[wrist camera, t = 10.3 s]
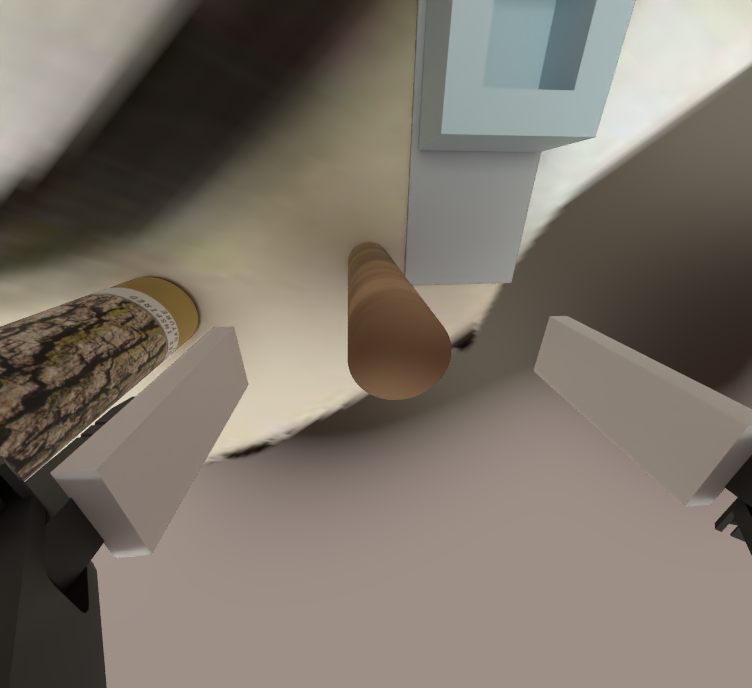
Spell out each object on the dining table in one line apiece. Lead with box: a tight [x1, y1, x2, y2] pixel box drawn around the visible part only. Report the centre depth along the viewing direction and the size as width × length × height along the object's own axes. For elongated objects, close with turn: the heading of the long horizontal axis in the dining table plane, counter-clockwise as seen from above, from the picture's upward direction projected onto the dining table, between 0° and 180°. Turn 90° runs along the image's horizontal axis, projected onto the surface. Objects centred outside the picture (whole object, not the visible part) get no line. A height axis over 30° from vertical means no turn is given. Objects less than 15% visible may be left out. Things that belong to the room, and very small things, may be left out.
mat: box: [405, 0, 541, 285], centre depth 23 cm, size 23×11×1 cm, turn 0°
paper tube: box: [0, 277, 198, 481], centre depth 16 cm, size 7×7×25 cm
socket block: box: [419, 0, 636, 152], centre depth 17 cm, size 10×10×6 cm
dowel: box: [348, 242, 451, 400], centre depth 19 cm, size 4×4×18 cm
